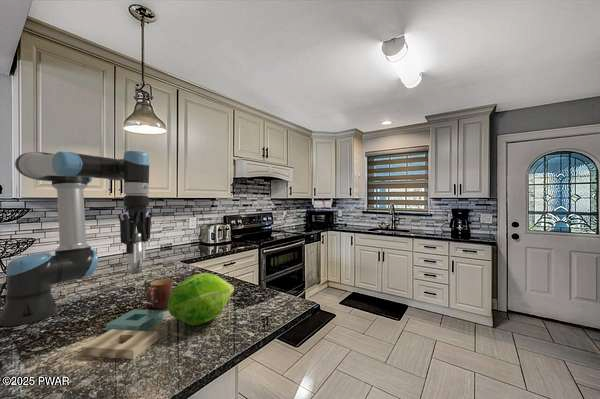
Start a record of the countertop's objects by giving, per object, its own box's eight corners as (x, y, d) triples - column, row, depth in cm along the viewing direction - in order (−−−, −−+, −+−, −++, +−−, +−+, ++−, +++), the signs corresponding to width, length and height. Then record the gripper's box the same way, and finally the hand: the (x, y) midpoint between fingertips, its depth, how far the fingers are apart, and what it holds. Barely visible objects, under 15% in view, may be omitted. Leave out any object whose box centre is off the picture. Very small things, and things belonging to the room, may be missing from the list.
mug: (160, 301, 111) (160, 278, 112) (178, 303, 110) (178, 279, 110) (138, 313, 100) (138, 287, 100) (157, 315, 98) (157, 288, 98)
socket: (106, 333, 84) (106, 324, 84) (133, 317, 96) (133, 309, 96) (139, 335, 83) (139, 326, 83) (163, 318, 95) (163, 310, 95)
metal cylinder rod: (127, 274, 88) (127, 233, 89) (135, 271, 92) (135, 232, 92) (136, 274, 88) (137, 233, 88) (144, 271, 92) (144, 232, 92)
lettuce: (247, 316, 96) (247, 271, 96) (179, 344, 77) (179, 288, 78) (220, 303, 109) (220, 263, 109) (157, 325, 90) (157, 276, 90)
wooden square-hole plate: (81, 355, 72) (81, 346, 72) (111, 337, 82) (111, 329, 82) (133, 359, 70) (133, 350, 70) (157, 339, 80) (157, 331, 80)
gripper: (127, 194, 82) (127, 267, 81) (161, 195, 98) (161, 256, 98) (106, 194, 82) (106, 266, 82) (143, 195, 99) (143, 256, 99)
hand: (136, 261), depth 90 cm, fingers closed on metal cylinder rod, 4 cm apart
